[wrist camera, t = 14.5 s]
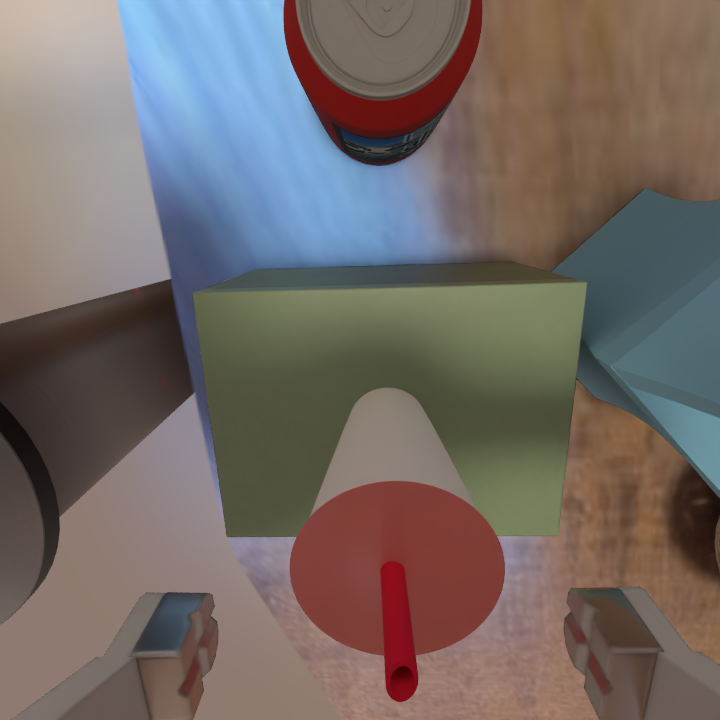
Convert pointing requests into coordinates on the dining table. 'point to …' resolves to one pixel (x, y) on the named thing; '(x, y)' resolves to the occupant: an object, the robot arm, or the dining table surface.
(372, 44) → the beverage can
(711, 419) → the vase
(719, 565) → the ornament
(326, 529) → the cup
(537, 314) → the sage green box
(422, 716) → the dining table surface
